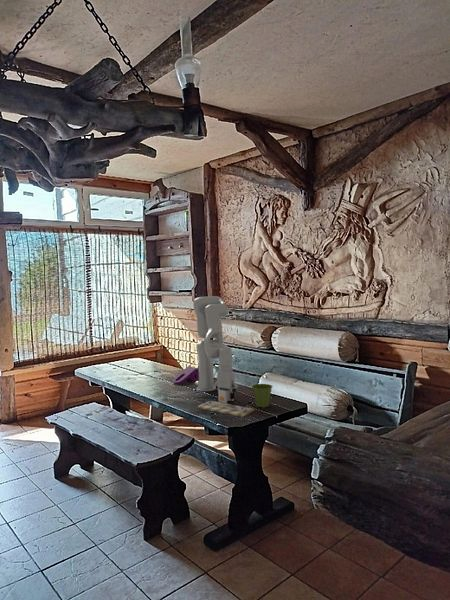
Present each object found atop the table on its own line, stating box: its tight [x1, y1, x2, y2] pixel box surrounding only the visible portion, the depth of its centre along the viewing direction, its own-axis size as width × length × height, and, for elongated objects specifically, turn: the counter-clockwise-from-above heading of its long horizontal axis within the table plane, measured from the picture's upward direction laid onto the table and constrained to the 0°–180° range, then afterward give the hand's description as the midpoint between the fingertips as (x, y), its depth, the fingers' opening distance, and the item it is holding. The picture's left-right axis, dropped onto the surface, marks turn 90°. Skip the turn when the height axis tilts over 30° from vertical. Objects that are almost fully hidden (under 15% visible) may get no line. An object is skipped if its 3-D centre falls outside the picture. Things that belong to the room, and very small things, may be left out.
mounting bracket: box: [172, 365, 199, 386], centre depth 315 cm, size 9×8×18 cm
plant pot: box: [251, 383, 273, 408], centre depth 257 cm, size 12×12×11 cm
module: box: [217, 388, 235, 404], centre depth 266 cm, size 5×9×8 cm, turn 145°
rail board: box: [197, 400, 256, 418], centre depth 252 cm, size 30×12×1 cm, turn 55°
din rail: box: [204, 400, 248, 412], centre depth 252 cm, size 26×4×2 cm, turn 55°
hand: (226, 397), depth 266 cm, fingers open, 7 cm apart
